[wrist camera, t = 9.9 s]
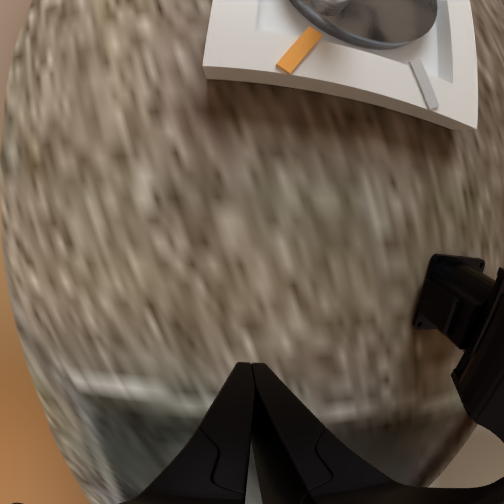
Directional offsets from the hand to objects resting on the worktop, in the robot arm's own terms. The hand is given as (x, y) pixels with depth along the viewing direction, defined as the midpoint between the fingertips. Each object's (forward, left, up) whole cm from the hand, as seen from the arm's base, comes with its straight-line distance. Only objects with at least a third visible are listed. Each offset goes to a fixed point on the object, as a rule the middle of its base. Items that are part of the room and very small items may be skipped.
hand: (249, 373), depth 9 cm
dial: (-6, -20, -11) cm, 23 cm away
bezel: (-6, -20, -12) cm, 24 cm away
